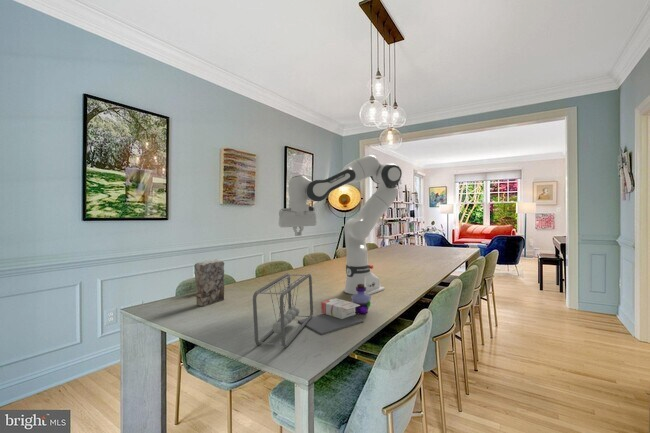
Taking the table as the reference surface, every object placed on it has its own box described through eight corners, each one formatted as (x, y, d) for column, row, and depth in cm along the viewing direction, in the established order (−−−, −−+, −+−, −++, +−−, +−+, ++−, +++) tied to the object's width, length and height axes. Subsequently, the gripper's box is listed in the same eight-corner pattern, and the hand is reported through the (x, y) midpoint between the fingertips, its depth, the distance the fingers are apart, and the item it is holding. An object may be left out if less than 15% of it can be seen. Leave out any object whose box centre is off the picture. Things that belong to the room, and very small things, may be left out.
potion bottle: (370, 316, 126) (370, 287, 125) (349, 315, 128) (349, 286, 127) (372, 309, 134) (371, 282, 134) (352, 308, 136) (352, 281, 136)
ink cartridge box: (321, 313, 129) (346, 321, 118) (320, 301, 129) (346, 308, 118) (335, 308, 135) (361, 316, 124) (335, 297, 135) (361, 303, 124)
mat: (338, 311, 132) (338, 310, 132) (363, 322, 119) (363, 320, 119) (298, 321, 121) (298, 320, 121) (321, 335, 108) (321, 333, 108)
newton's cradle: (284, 350, 96) (282, 294, 95) (254, 347, 99) (251, 293, 98) (313, 316, 125) (311, 272, 124) (289, 314, 128) (287, 272, 127)
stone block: (204, 307, 142) (203, 264, 141) (194, 305, 145) (193, 263, 144) (226, 299, 153) (225, 259, 153) (216, 298, 156) (215, 258, 156)
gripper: (282, 208, 145) (282, 237, 146) (317, 207, 157) (318, 234, 157) (276, 208, 150) (276, 236, 151) (311, 208, 162) (311, 234, 163)
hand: (298, 235), depth 154 cm, fingers closed
